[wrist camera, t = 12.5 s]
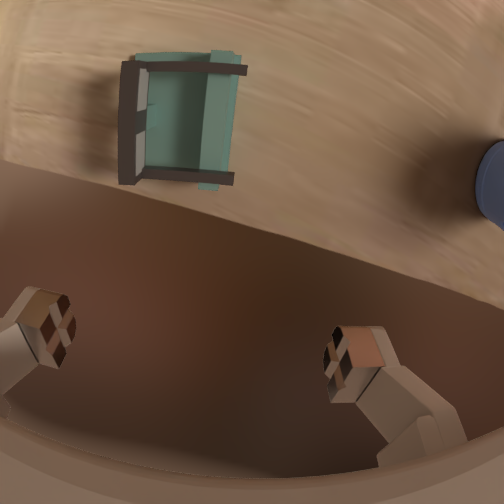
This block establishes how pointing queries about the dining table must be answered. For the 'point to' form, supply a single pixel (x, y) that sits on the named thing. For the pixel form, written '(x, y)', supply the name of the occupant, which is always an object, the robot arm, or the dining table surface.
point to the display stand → (190, 114)
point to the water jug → (491, 185)
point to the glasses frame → (135, 120)
